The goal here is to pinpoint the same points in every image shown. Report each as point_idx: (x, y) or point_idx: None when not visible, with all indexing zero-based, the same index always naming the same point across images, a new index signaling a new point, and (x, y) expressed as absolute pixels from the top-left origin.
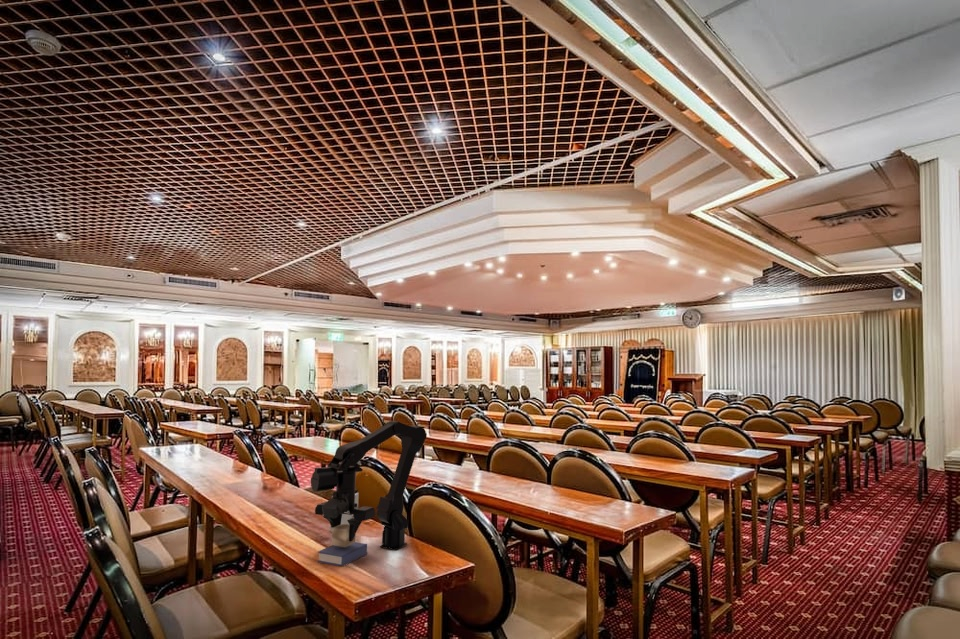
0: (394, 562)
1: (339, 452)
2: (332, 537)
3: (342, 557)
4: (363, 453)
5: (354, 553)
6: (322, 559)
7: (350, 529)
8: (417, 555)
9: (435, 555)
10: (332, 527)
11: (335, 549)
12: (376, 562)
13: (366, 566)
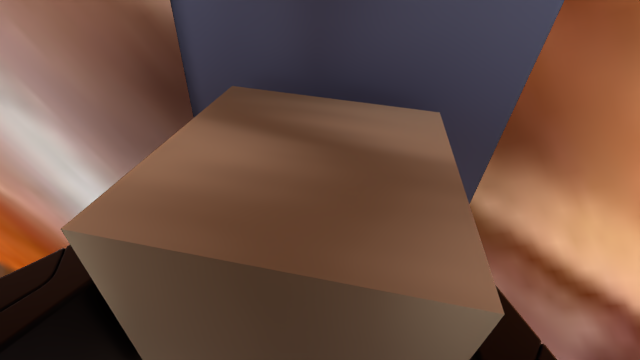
0: (26, 138)
1: None
2: (440, 162)
3: None
4: None
5: None
6: None
7: (64, 275)
8: (47, 237)
9: (3, 247)
10: (529, 358)
11: (377, 93)
12: (94, 109)
13: (72, 13)
